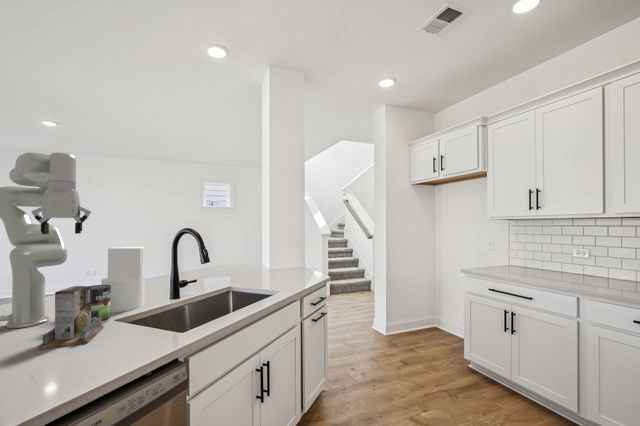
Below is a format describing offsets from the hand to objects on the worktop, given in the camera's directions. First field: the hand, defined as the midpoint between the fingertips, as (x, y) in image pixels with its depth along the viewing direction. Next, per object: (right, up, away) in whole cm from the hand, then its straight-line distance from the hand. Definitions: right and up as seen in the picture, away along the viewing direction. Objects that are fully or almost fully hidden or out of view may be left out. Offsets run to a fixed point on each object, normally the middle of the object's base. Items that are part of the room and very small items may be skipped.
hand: (61, 233), depth 110 cm
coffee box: (+8, -35, -5) cm, 36 cm away
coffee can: (+3, -37, +13) cm, 39 cm away
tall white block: (0, -38, +34) cm, 51 cm away
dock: (+8, -36, -5) cm, 37 cm away
